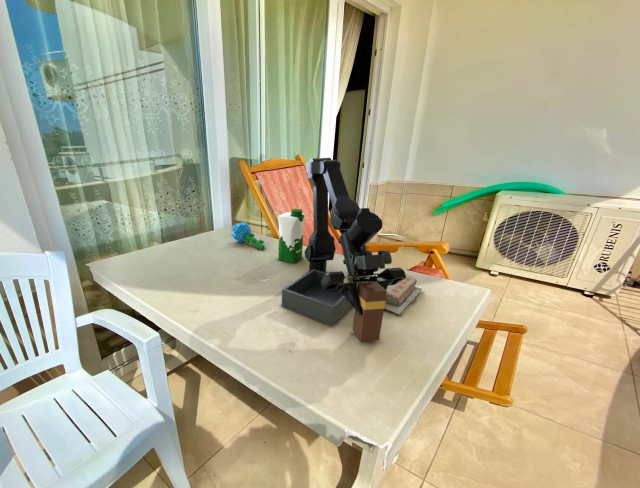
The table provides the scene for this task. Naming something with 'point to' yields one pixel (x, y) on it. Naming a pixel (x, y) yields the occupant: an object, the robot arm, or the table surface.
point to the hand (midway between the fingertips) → (371, 314)
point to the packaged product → (401, 294)
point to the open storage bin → (315, 298)
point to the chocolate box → (369, 311)
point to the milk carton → (291, 235)
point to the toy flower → (245, 235)
